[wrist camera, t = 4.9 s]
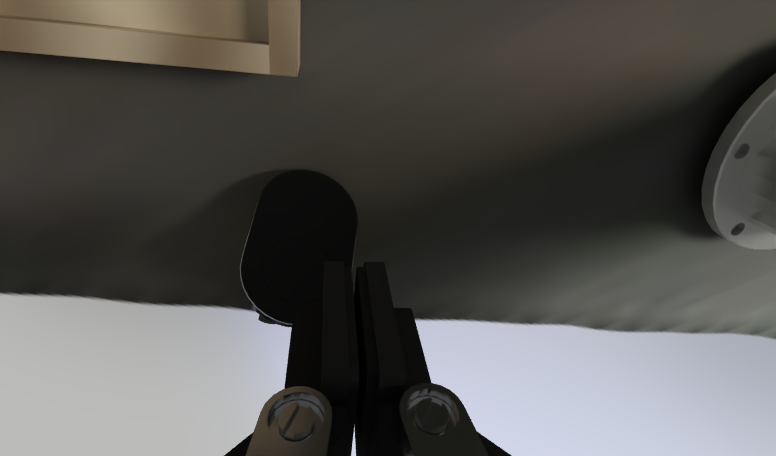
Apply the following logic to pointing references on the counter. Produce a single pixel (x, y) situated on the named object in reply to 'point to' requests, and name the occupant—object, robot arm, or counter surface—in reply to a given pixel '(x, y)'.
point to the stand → (295, 243)
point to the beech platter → (160, 32)
